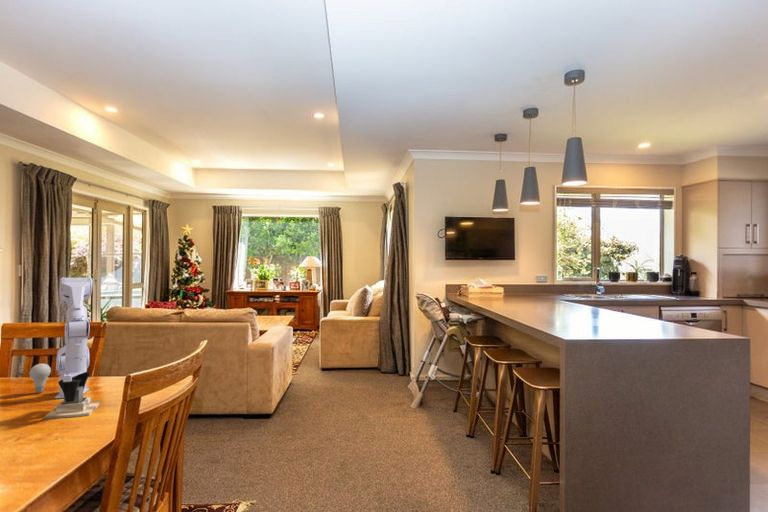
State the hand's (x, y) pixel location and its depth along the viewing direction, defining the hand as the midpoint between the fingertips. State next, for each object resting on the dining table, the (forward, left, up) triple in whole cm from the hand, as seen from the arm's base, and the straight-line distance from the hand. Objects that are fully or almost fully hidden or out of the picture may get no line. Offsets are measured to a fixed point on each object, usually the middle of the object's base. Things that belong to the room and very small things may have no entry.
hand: (74, 397), depth 133 cm
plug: (0, 0, -3) cm, 3 cm away
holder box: (0, 0, -4) cm, 4 cm away
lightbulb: (-26, -19, -5) cm, 33 cm away
